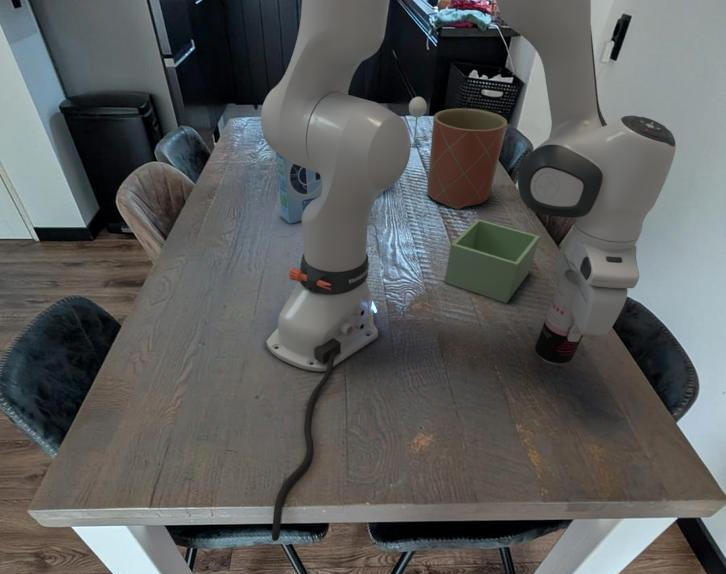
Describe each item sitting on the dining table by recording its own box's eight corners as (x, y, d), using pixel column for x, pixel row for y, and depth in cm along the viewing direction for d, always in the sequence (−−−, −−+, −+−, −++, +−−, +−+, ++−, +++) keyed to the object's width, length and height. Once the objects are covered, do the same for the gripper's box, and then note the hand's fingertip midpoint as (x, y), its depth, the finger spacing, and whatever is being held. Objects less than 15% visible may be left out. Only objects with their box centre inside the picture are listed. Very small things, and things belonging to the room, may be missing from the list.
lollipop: (402, 145, 167) (406, 95, 156) (416, 143, 169) (421, 93, 158) (410, 150, 163) (415, 100, 152) (425, 148, 165) (431, 98, 154)
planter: (457, 179, 147) (470, 104, 132) (504, 200, 137) (523, 122, 122) (411, 192, 139) (418, 114, 124) (456, 216, 129) (470, 135, 114)
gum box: (343, 201, 134) (342, 108, 117) (352, 208, 131) (353, 113, 114) (280, 217, 126) (270, 119, 109) (289, 225, 123) (280, 125, 106)
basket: (506, 303, 101) (517, 264, 94) (444, 282, 106) (450, 244, 99) (528, 273, 109) (540, 236, 103) (470, 255, 114) (477, 218, 108)
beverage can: (565, 343, 86) (598, 267, 76) (576, 366, 82) (613, 290, 71) (530, 341, 86) (557, 266, 75) (539, 365, 82) (570, 288, 71)
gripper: (561, 215, 77) (535, 290, 87) (596, 281, 63) (560, 362, 72) (600, 218, 77) (570, 292, 87) (644, 284, 62) (602, 365, 72)
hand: (566, 325), depth 79 cm, fingers closed on beverage can, 6 cm apart
